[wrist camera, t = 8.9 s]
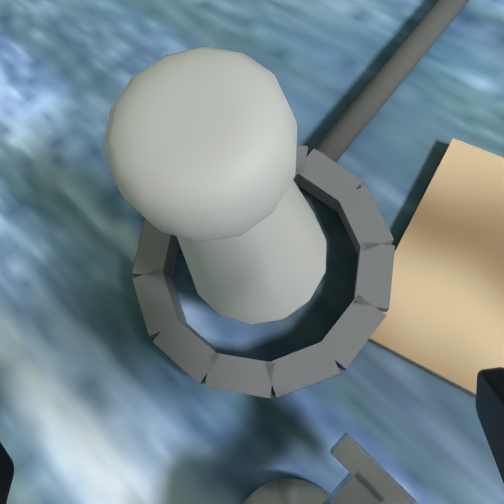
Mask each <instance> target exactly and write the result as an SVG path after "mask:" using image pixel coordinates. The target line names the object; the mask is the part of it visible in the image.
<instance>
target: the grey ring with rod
mask: <svg viewBox="0 0 504 504" xmlns="http://www.w3.org/2000/svg"><path fill="white" fill-rule="evenodd" d="M468 1H469V0H438V1H437V2H436V3H435V5H434V6H433V7H432V8H431V9H430V11H429V12H428V13H427V14H426V15H425V17H424V18H423V19H422V20H421V21H420V23H419V24H418V25H417V26H416V27H415V29H414V30H413V31H412V32H411V33H410V35H409V36H408V37H407V38H406V39H405V41H404V42H403V43H402V44H401V45H400V47H399V48H398V49H397V50H396V51H395V53H394V54H393V55H392V56H391V57H390V59H389V60H388V61H387V62H386V63H385V64H384V66H383V67H382V68H381V69H380V70H379V72H378V73H377V74H376V75H375V76H374V78H373V79H372V80H371V81H370V82H369V84H368V85H367V86H366V87H365V88H364V90H363V91H362V92H361V93H360V94H359V96H358V97H357V98H356V99H355V100H354V102H353V103H352V104H351V105H350V106H349V108H348V109H347V110H346V111H345V112H344V114H343V115H342V116H341V117H340V118H339V120H338V121H337V122H336V123H335V124H334V126H333V127H332V128H331V129H330V130H329V132H328V133H327V134H326V135H325V136H324V138H323V139H322V140H321V141H320V142H319V144H318V145H317V146H316V147H315V148H314V149H313V150H312V151H311V152H310V154H309V155H308V146H298V145H297V149H296V172H295V177H294V179H293V180H294V182H295V183H296V185H297V187H301V188H302V189H304V190H305V191H307V192H308V193H309V194H311V195H312V196H314V197H315V198H317V199H318V200H320V201H321V202H323V203H324V204H325V205H327V206H328V207H330V208H331V209H333V210H334V211H336V212H337V213H338V214H339V216H340V218H341V220H342V223H343V225H344V227H345V229H346V231H347V233H348V236H349V238H350V240H351V242H352V244H353V246H354V248H355V251H356V253H357V255H358V261H357V270H356V278H355V287H354V296H353V302H352V303H351V304H350V305H349V307H348V308H347V309H346V311H345V312H344V313H343V314H342V316H341V317H340V318H339V320H338V321H337V322H336V323H335V325H334V326H333V327H332V329H331V330H330V331H329V332H328V334H327V335H326V336H325V338H324V339H323V340H322V341H321V342H319V343H317V344H314V345H312V346H309V347H306V348H304V349H301V350H299V351H296V352H294V353H291V354H288V355H286V356H283V357H281V358H278V359H276V360H273V361H271V362H267V361H261V360H255V359H249V358H243V357H237V356H231V355H225V354H221V353H220V352H219V351H218V350H217V349H215V348H214V347H213V346H212V345H211V344H210V343H208V342H207V341H206V340H205V339H204V338H203V337H201V336H200V335H199V334H198V333H197V332H196V331H195V330H193V329H192V328H191V327H190V326H189V325H188V324H187V322H186V319H185V316H184V313H183V310H182V307H181V304H180V301H179V298H178V294H177V291H176V288H175V285H174V282H173V276H174V271H175V266H176V262H177V257H178V252H179V248H180V244H179V241H178V239H177V236H175V235H171V234H167V233H163V232H161V231H160V230H158V229H157V228H156V227H154V226H153V225H152V224H151V223H150V222H149V221H148V220H146V219H145V220H144V224H143V229H142V233H141V237H140V241H139V245H138V250H137V254H136V258H135V262H134V266H133V271H132V273H133V274H135V275H136V276H138V277H136V278H133V279H132V281H133V284H134V287H135V291H136V294H137V298H138V301H139V304H140V308H141V311H142V315H143V318H144V321H145V325H146V328H147V332H148V335H149V336H150V337H153V338H155V339H154V340H153V341H152V342H153V343H154V344H155V345H156V346H157V347H159V348H160V349H161V350H162V351H163V352H164V353H165V354H166V355H167V356H169V357H170V358H171V359H172V360H173V361H174V362H175V363H176V364H177V365H178V366H180V367H181V368H182V369H183V370H184V371H185V372H186V373H187V374H188V375H190V376H191V377H192V378H193V379H194V380H195V381H196V382H197V383H198V384H205V387H210V388H215V389H221V390H226V391H232V392H237V393H243V394H248V395H254V396H259V397H265V398H273V397H274V392H275V394H276V397H277V398H278V397H282V396H284V395H287V394H289V393H292V392H294V391H297V390H300V389H302V388H305V387H307V386H310V385H313V384H315V383H318V382H320V381H323V380H325V379H328V378H331V377H333V376H336V375H338V374H340V371H339V369H338V367H337V365H339V366H340V367H341V368H342V369H344V370H345V369H346V368H347V367H348V366H349V364H350V363H351V362H352V360H353V359H354V358H355V356H356V355H357V354H358V352H359V351H360V350H361V349H362V347H363V346H364V345H365V343H366V342H367V341H368V339H369V338H370V337H371V335H372V334H373V333H374V331H375V330H376V329H377V328H378V326H379V325H380V324H381V322H382V321H383V320H384V318H385V317H386V316H387V315H385V314H384V313H383V312H387V311H388V310H389V305H390V295H391V284H392V274H393V263H394V253H395V245H391V244H392V242H393V240H394V238H393V236H392V234H391V232H390V230H389V228H388V226H387V224H386V222H385V220H384V218H383V216H382V214H381V212H380V210H379V208H378V206H377V204H376V202H375V200H374V198H373V196H372V194H371V192H370V190H369V188H368V186H367V185H366V186H363V187H362V182H363V180H362V179H360V178H359V177H357V176H356V175H354V174H353V173H351V172H350V171H348V170H346V169H345V168H343V167H342V166H340V165H339V164H337V163H336V161H337V160H338V159H339V158H340V157H341V155H342V154H343V153H344V152H345V151H346V149H347V148H348V147H349V146H350V144H351V143H352V142H353V141H354V140H355V138H356V137H357V136H358V135H359V133H360V132H361V131H362V130H363V129H364V127H365V126H366V125H367V124H368V123H369V121H370V120H371V119H372V118H373V116H374V115H375V114H376V113H377V112H378V110H379V109H380V108H381V107H382V106H383V104H384V103H385V102H386V101H387V99H388V98H389V97H390V96H391V95H392V93H393V92H394V91H395V90H396V89H397V87H398V86H399V85H400V84H401V82H402V81H403V80H404V79H405V78H406V76H407V75H408V74H409V73H410V72H411V70H412V69H413V68H414V67H415V65H416V64H417V63H418V62H419V61H420V59H421V58H422V57H423V56H424V55H425V53H426V52H427V51H428V50H429V48H430V47H431V46H432V45H433V44H434V42H435V41H436V40H437V39H438V38H439V36H440V35H441V34H442V33H443V31H444V30H445V29H446V28H447V27H448V25H449V24H450V23H451V22H452V21H453V19H454V18H455V17H456V16H457V14H458V13H459V12H460V11H461V10H462V8H463V7H464V6H465V5H466V4H467V2H468Z"/></svg>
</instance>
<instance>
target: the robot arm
mask: <svg viewBox="0 0 504 504" xmlns="http://www.w3.org/2000/svg"><path fill="white" fill-rule="evenodd" d="M476 410H477V414H478V417H479V420H480V422H481V425H482V428H483V430H484V433H485V435H486V438H487V441H488V443H489V446H490V448H491V451H492V454H493V456H494V459H495V461H496V464H497V467H498V469H499V472H500V475H501V477H502V480H503V482H504V368H503V367H497V368H489V369H482V370H480V371H479V372H478V374H477V386H476ZM13 475H14V464H13V461H12V459H11V458H10V456H9V454H8V453H7V451H6V450H5V448H4V447H3V445H2V444H1V442H0V504H6V502H7V498H8V494H9V491H10V487H11V483H12V479H13Z"/></svg>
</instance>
